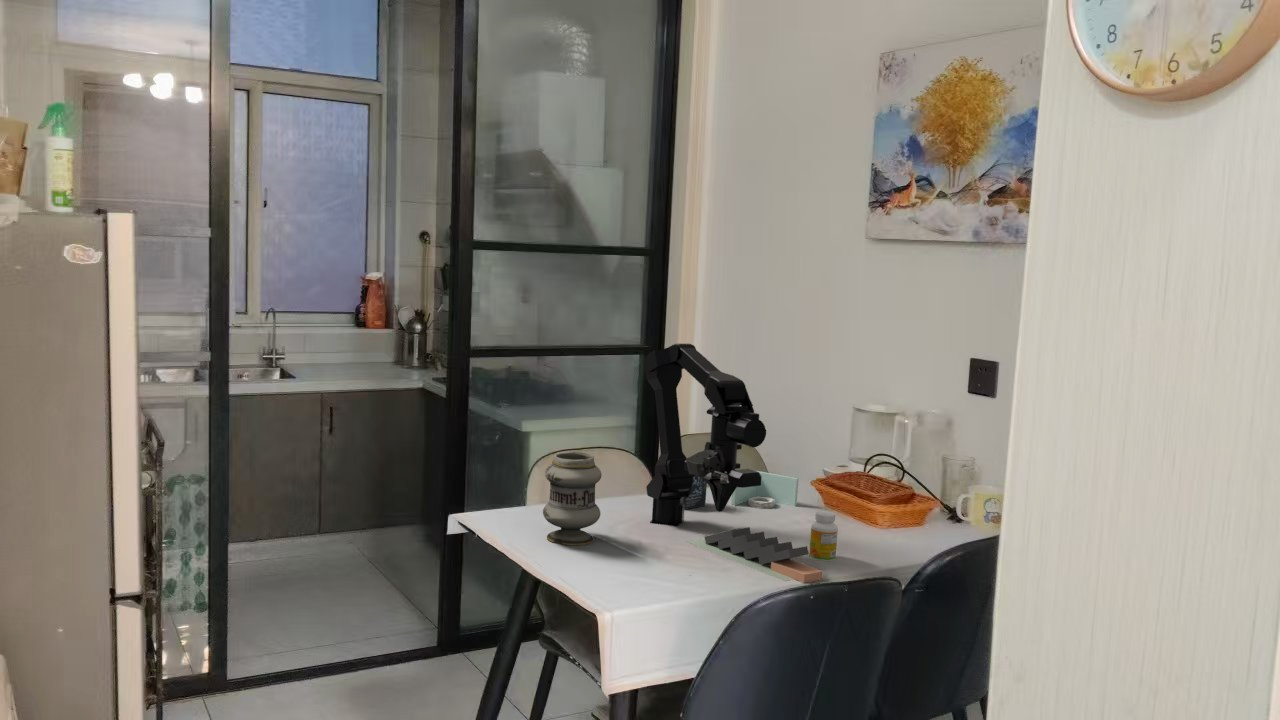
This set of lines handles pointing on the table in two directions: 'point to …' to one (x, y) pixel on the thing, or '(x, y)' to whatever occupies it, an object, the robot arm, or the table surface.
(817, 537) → the supplement bottle
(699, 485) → the box
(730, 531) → the domino
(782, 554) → the domino
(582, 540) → the apothecary jar
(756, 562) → the rack
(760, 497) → the right angle wall
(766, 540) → the domino
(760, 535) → the domino
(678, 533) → the table surface
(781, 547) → the domino
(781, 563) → the domino
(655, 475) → the robot arm
